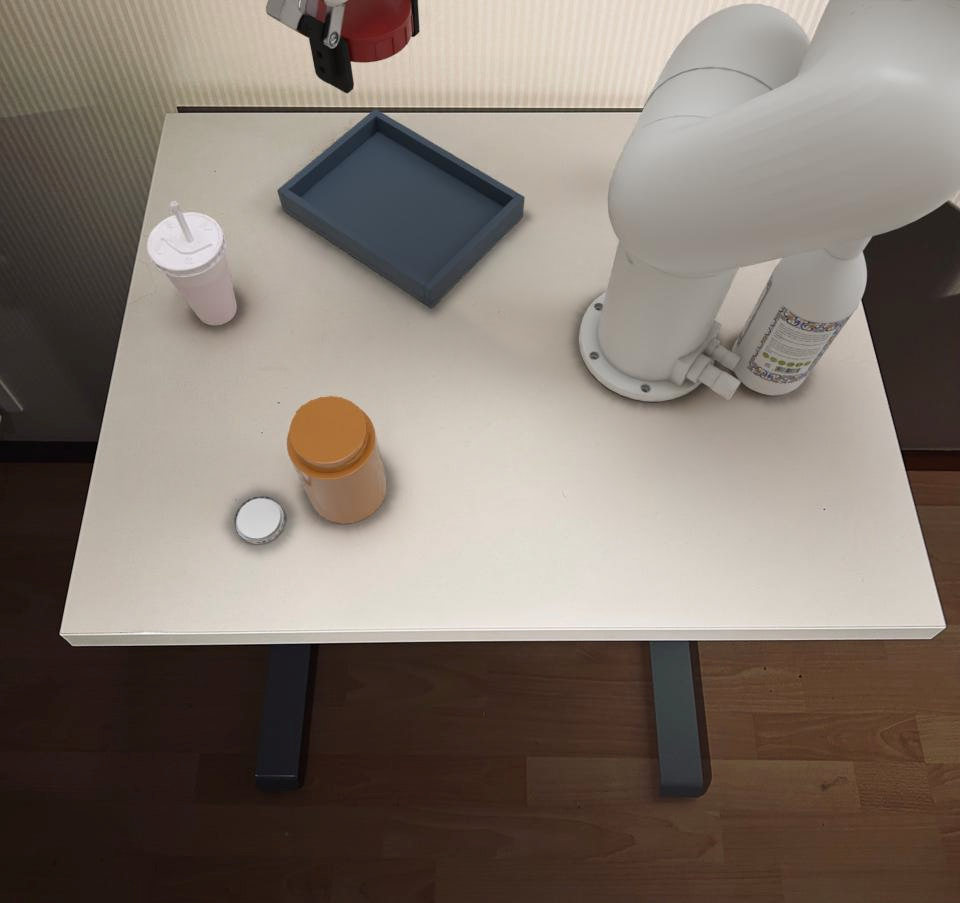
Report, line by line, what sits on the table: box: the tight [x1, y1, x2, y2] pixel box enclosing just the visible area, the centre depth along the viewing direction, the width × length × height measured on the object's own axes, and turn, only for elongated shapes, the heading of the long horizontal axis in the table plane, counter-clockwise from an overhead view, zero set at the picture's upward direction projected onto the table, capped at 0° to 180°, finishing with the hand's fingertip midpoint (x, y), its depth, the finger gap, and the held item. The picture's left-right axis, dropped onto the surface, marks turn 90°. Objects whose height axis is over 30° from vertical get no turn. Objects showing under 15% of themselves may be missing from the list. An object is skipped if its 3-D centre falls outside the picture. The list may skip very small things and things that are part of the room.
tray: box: [277, 108, 525, 309], centre depth 80 cm, size 20×15×3 cm
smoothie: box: [146, 200, 238, 327], centre depth 69 cm, size 6×6×14 cm
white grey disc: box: [233, 495, 286, 545], centre depth 66 cm, size 4×4×1 cm
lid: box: [316, 0, 413, 64], centre depth 57 cm, size 7×7×2 cm
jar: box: [286, 395, 388, 525], centre depth 63 cm, size 7×7×11 cm
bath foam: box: [731, 236, 873, 396], centre depth 64 cm, size 7×7×20 cm
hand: (368, 53), depth 59 cm, fingers closed on lid, 6 cm apart
